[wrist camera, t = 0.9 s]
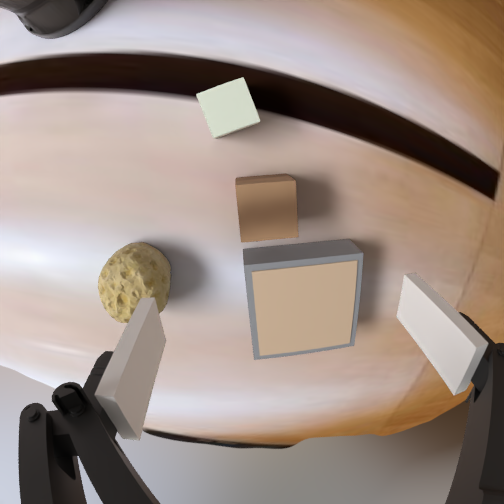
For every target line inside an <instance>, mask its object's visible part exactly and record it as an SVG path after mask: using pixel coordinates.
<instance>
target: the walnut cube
mask: <svg viewBox="0 0 504 504" xmlns="http://www.w3.org/2000/svg"><path fill="white" fill-rule="evenodd" d="M235 186H236V196H237V206H238V216H239V225H240V235H241V242H251V241H262V240H272V239H283V238H293V237H298V217H297V196H296V180H294V179H293V178H292V177H290V176H289V175H287V174H276V175H263V176H251V177H241V178H236V184H235Z"/></svg>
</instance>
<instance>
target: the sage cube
mask: <svg viewBox="0 0 504 504" xmlns="http://www.w3.org/2000/svg"><path fill="white" fill-rule="evenodd" d="M196 95H197V98H198V101H199V103H200V106H201V108H202V111H203V113H204V116H205V118H206V121H207V124H208V126H209V129H210V131H211V134H212V136H213V138H216V139H217V138H219V137H222V136H225V135H227V134H230V133H233V132H236V131H238V130H241V129H244V128H247V127H250V126H253V125H255V124H258V123H259V122H260V119H259V116H258V113H257V111H256V108H255V106H254V103H253V100H252V98H251V95H250V93H249V90H248V88H247V85H246V83H245V80H244V78H239V79H236V80H234V81H231V82H228V83H225V84H222V85H219V86H217V87H214V88H211V89H209V90H206V91H203V92H201V93H198V94H196Z"/></svg>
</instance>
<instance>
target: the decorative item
mask: <svg viewBox="0 0 504 504" xmlns="http://www.w3.org/2000/svg"><path fill="white" fill-rule="evenodd" d="M170 271H171V266H170V263H169V262H168V260H167V258H166V257H165V256H164V255H163V254H162V253H161V252H160V251H159V250H157V249H156V248H154V247H152V246H150V245H148V244H147V243H144V242H140V243H131V244H128V245H126V246H124V247H123V248H121V249H120V250H118V251H116V252H115V253H114V254H113V255H112V257H111V258H109V260H108V261H107V263H106V264H105V265H104V267H103V269H102V271H101V273H100V276H99V281H98V289H99V295H100V298H101V302H102V303H103V306H104V308H105V309H106V311H107V312H108V313H109V314H110V316H111V317H113V318H115V320H116V321H118V322H121V323H128V322H129V320H130V318H131V316H132V314H133V312H134V310H135V308H136V306H137V305H138V303H139V301H140V299H141V298H152V297H155V300H156V304H157V308H158V312H159V313H160V312H162V311H163V309H164V308H165V306H166V304H167V300H168V297H169V290H170V279H171V274H170Z"/></svg>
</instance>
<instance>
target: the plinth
mask: <svg viewBox="0 0 504 504" xmlns="http://www.w3.org/2000/svg"><path fill="white" fill-rule="evenodd" d="M243 259H244V271H245V281H246V290H247V299H248V308H249V318H250V327H251V336H252V344H253V353H254V360H257V359H267V358H276V357H284V356H292V355H299V354H307V353H313V352H320V351H326V350H332V349H338V348H344V347H349V346H354V342H355V335H356V327H357V319H358V311H359V301H360V291H361V280H362V267H363V252H362V251H361V250H360V249H359V248H358V247H357V246H356V245H355V244H354V243H353V242H352V241H351V240H350V239H344V240H333V241H323V242H312V243H302V244H291V245H281V246H271V247H260V248H250V249H243Z"/></svg>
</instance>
